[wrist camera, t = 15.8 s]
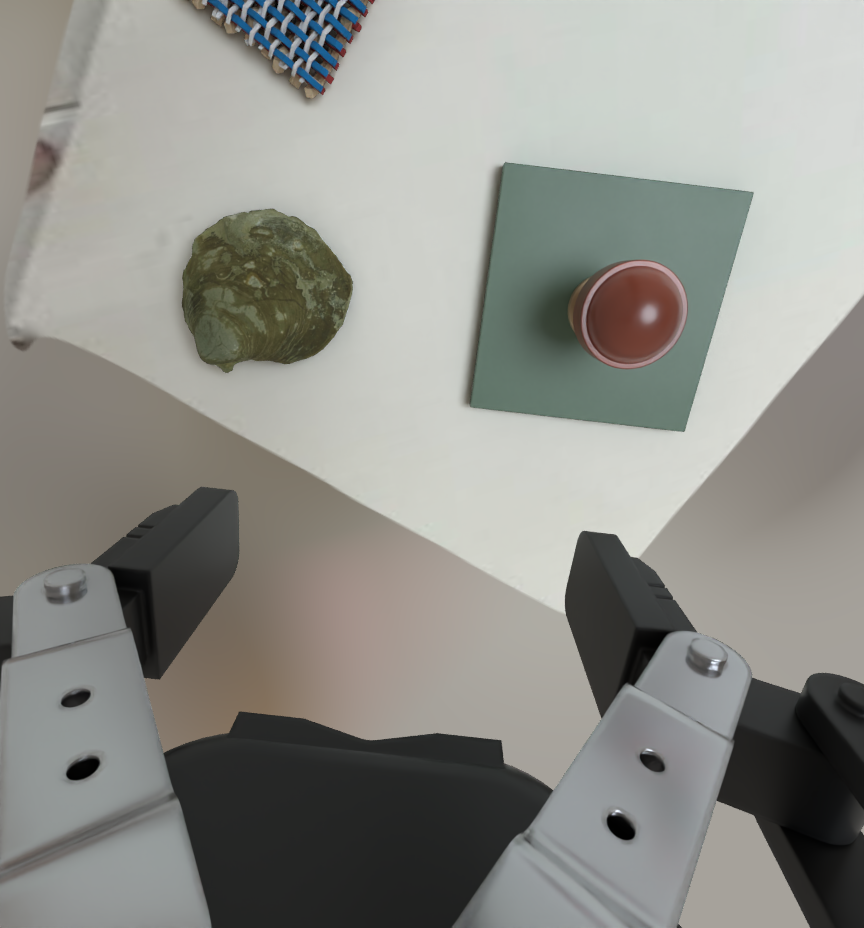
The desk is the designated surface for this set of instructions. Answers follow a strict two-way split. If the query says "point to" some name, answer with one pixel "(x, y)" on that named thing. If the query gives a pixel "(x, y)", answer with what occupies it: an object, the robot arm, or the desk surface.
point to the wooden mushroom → (629, 313)
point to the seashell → (263, 290)
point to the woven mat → (293, 33)
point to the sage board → (579, 257)
